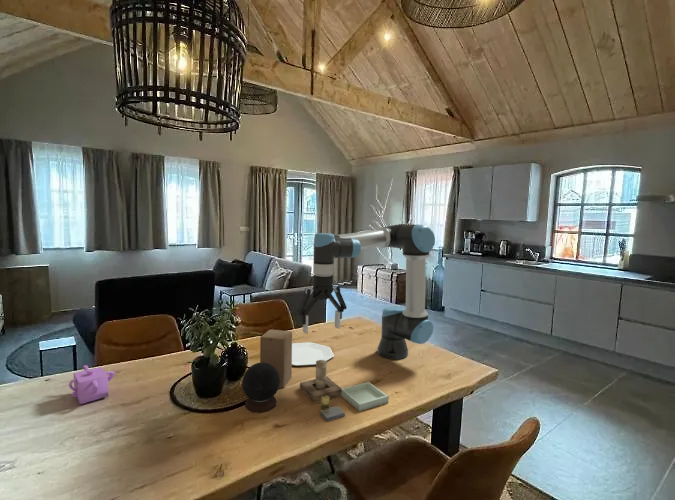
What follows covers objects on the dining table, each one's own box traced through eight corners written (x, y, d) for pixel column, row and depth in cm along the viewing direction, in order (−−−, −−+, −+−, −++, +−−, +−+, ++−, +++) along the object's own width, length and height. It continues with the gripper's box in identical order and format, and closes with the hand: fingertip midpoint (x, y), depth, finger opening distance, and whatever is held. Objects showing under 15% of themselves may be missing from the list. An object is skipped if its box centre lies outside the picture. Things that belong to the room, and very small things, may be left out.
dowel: (322, 388, 141) (323, 359, 140) (327, 393, 138) (328, 363, 137) (313, 390, 139) (314, 361, 138) (318, 395, 136) (319, 365, 135)
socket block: (326, 382, 147) (326, 376, 147) (342, 395, 137) (342, 389, 136) (299, 388, 141) (300, 382, 140) (313, 403, 130) (313, 396, 130)
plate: (343, 353, 179) (343, 350, 179) (309, 373, 156) (310, 369, 156) (299, 341, 193) (299, 339, 193) (263, 358, 170) (263, 355, 170)
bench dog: (326, 405, 129) (327, 394, 129) (330, 409, 127) (331, 398, 126) (319, 407, 128) (319, 396, 127) (323, 411, 125) (323, 400, 125)
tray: (368, 387, 143) (368, 381, 143) (388, 402, 132) (388, 396, 132) (340, 395, 137) (340, 388, 136) (359, 411, 126) (359, 404, 125)
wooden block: (283, 388, 140) (284, 339, 138) (259, 385, 142) (259, 336, 140) (291, 377, 150) (292, 331, 148) (269, 374, 152) (269, 328, 150)
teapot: (65, 392, 133) (63, 366, 132) (108, 381, 143) (107, 356, 142) (74, 412, 120) (72, 383, 119) (121, 398, 130) (120, 371, 129)
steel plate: (337, 409, 127) (337, 405, 127) (344, 416, 123) (344, 412, 122) (319, 414, 123) (319, 410, 123) (326, 421, 119) (326, 418, 119)
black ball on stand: (239, 398, 132) (239, 359, 131) (274, 392, 137) (275, 354, 136) (245, 417, 120) (245, 374, 119) (283, 410, 125) (284, 368, 124)
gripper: (346, 271, 144) (344, 323, 146) (288, 275, 131) (287, 331, 133) (356, 274, 137) (354, 328, 139) (296, 278, 125) (295, 337, 127)
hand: (321, 330), depth 136 cm, fingers open, 13 cm apart
